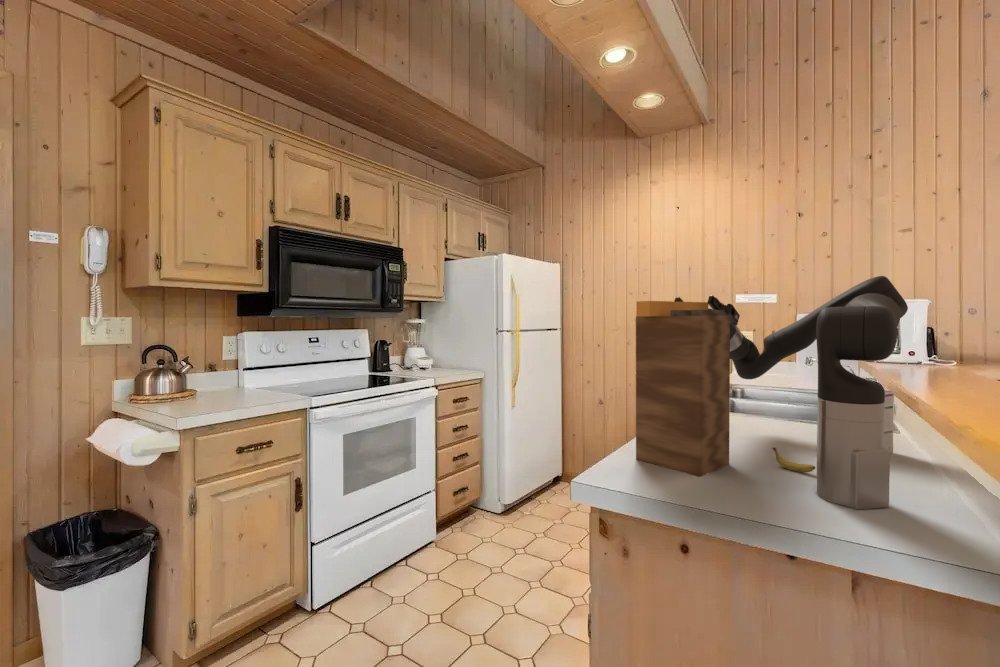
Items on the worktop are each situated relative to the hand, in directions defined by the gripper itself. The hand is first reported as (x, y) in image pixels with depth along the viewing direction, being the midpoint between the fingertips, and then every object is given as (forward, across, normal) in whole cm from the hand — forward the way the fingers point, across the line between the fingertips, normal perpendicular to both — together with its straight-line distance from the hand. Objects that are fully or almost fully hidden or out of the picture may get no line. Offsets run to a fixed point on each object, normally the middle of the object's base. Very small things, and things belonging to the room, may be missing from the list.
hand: (692, 299), depth 111 cm
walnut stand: (-8, -4, -37) cm, 38 cm away
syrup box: (-44, -28, -16) cm, 55 cm away
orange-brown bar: (+5, 0, -8) cm, 9 cm away
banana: (-19, -22, -31) cm, 42 cm away
